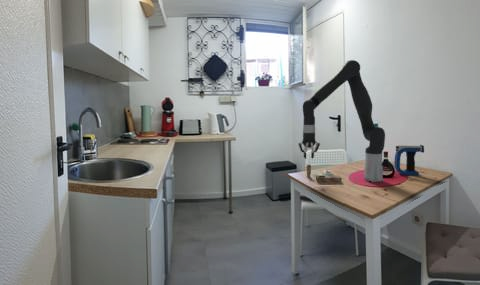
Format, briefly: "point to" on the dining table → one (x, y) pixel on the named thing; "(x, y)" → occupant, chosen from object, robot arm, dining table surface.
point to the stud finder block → (327, 173)
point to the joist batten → (328, 179)
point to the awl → (308, 170)
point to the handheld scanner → (410, 158)
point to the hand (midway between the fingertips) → (308, 158)
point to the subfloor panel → (315, 175)
